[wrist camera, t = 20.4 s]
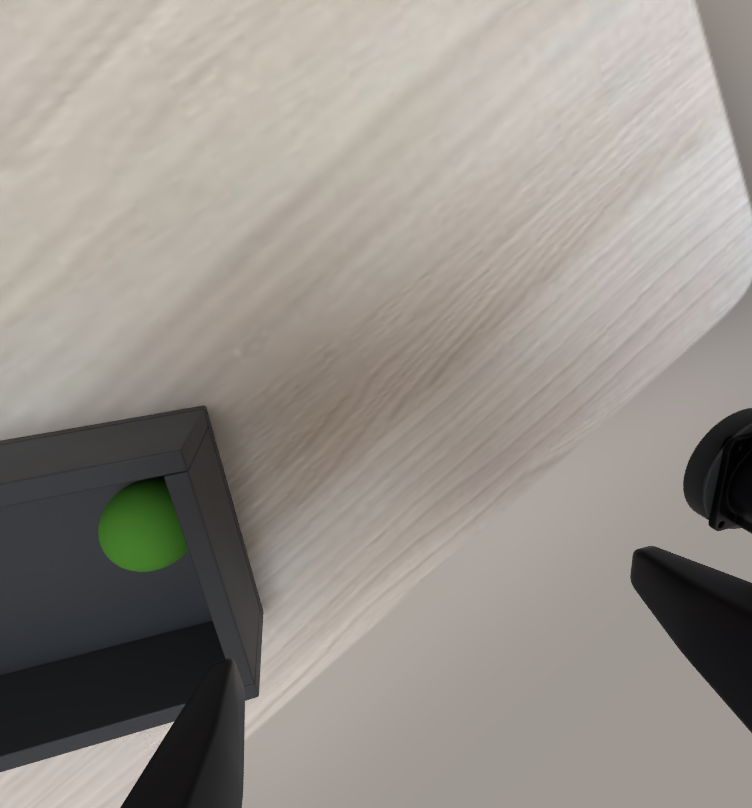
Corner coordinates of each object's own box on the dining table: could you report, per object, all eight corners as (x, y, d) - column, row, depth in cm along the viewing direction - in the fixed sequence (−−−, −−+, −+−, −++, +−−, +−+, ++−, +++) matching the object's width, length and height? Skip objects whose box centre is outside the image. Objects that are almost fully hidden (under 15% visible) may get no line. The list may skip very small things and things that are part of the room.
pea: (196, 521, 19) (221, 558, 16) (110, 560, 17) (123, 609, 14) (175, 454, 18) (198, 482, 15) (79, 487, 16) (88, 527, 13)
